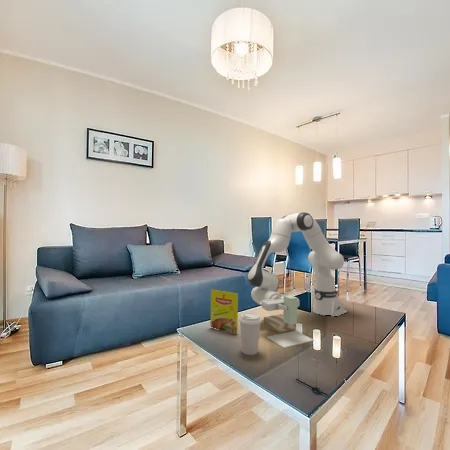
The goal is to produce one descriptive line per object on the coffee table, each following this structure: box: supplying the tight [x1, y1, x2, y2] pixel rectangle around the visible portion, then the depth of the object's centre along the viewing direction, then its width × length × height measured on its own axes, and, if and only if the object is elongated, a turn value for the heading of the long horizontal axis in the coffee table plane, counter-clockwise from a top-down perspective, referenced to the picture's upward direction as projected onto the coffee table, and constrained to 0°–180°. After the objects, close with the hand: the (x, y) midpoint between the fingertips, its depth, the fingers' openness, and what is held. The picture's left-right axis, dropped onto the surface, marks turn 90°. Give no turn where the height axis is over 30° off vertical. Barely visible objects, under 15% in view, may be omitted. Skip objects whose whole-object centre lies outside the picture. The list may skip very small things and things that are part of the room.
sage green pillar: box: [282, 294, 299, 325], centre depth 123 cm, size 4×5×12 cm
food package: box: [209, 289, 239, 335], centre depth 131 cm, size 15×1×20 cm, turn 62°
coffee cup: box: [238, 312, 263, 356], centre depth 110 cm, size 10×10×15 cm
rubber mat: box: [266, 330, 315, 349], centre depth 123 cm, size 18×12×1 cm, turn 118°
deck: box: [263, 313, 297, 333], centre depth 139 cm, size 12×12×4 cm
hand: (291, 308), depth 122 cm, fingers closed on sage green pillar, 4 cm apart
